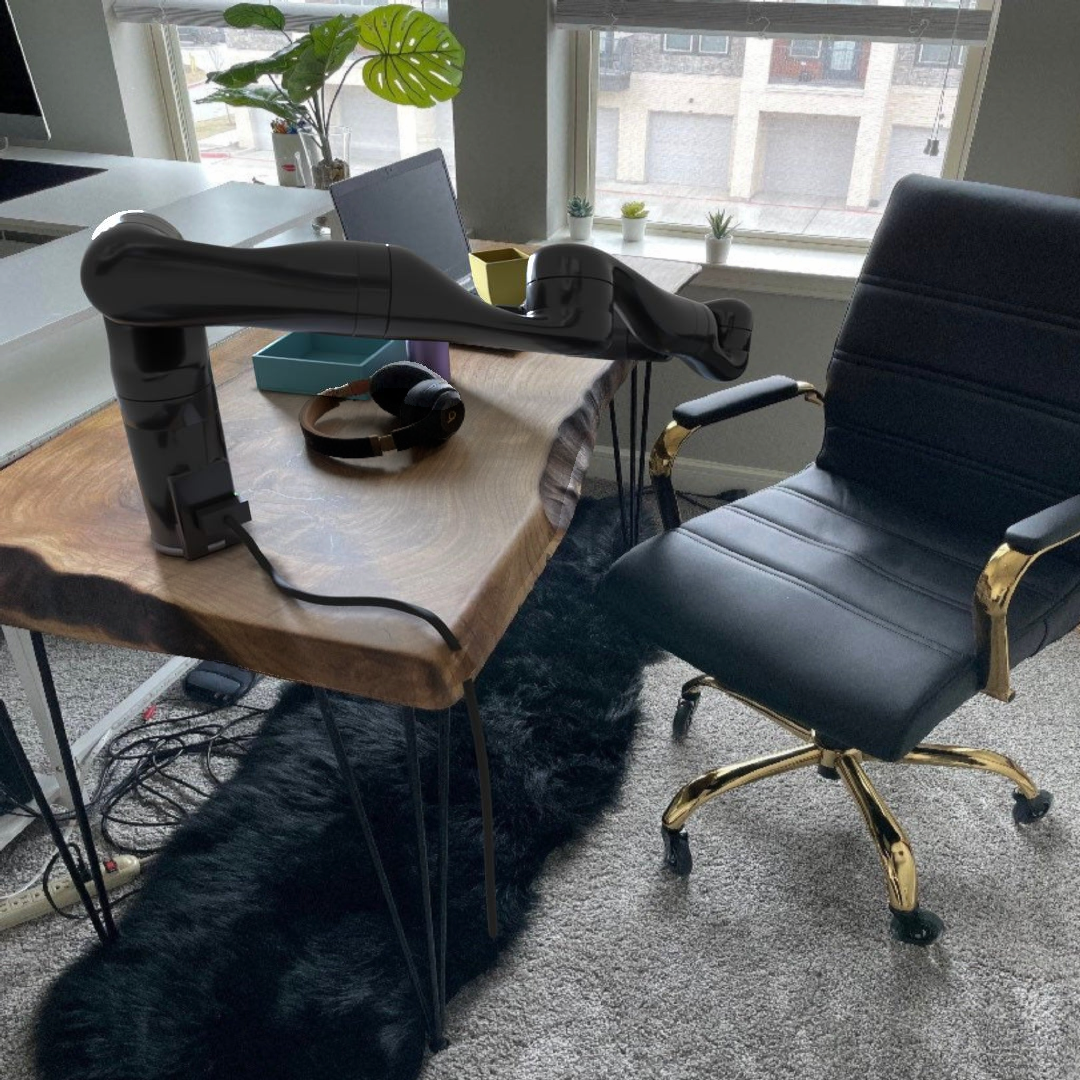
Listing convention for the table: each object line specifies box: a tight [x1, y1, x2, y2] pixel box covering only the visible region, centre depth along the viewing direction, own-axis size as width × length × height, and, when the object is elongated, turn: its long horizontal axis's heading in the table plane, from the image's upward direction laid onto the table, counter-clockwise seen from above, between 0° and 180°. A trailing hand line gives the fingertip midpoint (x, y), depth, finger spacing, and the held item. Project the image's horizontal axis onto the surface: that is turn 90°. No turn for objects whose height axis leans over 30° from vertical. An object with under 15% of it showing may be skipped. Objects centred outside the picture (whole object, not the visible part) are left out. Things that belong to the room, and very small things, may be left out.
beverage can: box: [406, 341, 452, 384], centre depth 140 cm, size 6×6×15 cm
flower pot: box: [468, 246, 531, 307], centre depth 172 cm, size 9×9×9 cm
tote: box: [251, 332, 408, 401], centre depth 146 cm, size 17×16×5 cm
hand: (484, 321), depth 136 cm, fingers open, 8 cm apart
